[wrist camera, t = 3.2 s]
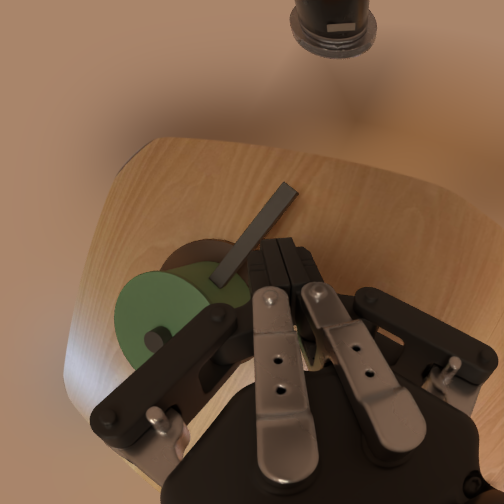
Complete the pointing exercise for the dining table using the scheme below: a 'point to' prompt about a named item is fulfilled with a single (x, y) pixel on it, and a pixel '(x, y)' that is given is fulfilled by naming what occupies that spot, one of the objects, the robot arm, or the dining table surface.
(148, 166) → the dining table surface
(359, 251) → the dining table surface
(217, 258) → the disc
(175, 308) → the pot
